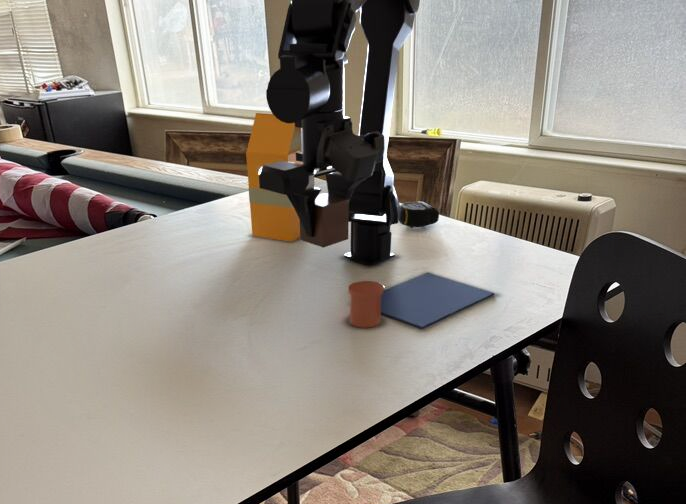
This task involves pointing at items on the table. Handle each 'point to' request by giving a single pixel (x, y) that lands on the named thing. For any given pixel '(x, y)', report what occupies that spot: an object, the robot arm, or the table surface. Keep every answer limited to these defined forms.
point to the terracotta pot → (365, 303)
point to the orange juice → (266, 206)
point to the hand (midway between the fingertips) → (324, 232)
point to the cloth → (429, 299)
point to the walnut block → (329, 221)
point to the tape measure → (417, 214)
